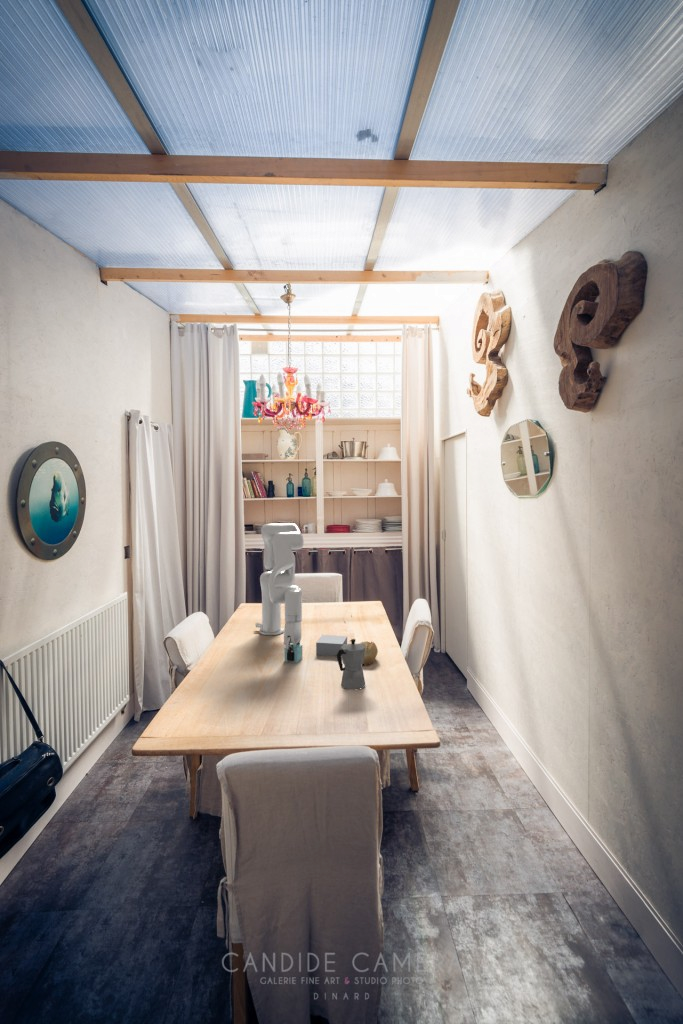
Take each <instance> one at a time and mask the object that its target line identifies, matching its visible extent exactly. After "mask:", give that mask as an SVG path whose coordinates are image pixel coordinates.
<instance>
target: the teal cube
mask: <svg viewBox="0 0 683 1024" xmlns="http://www.w3.org/2000/svg"><path fill="white" fill-rule="evenodd" d="M290 644H291V645H292V643H290ZM290 647H291V648H292V646H290ZM293 652H294V661H290V662H289V663H297V662H298V661H299V660H300V661H302V659H303V644H300V645H298V644H295V645H294V651H293ZM301 658H302V659H301ZM300 661H299V662H300ZM284 662H287V649H286V646H285V647H284ZM299 662H298V663H299Z"/></svg>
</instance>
